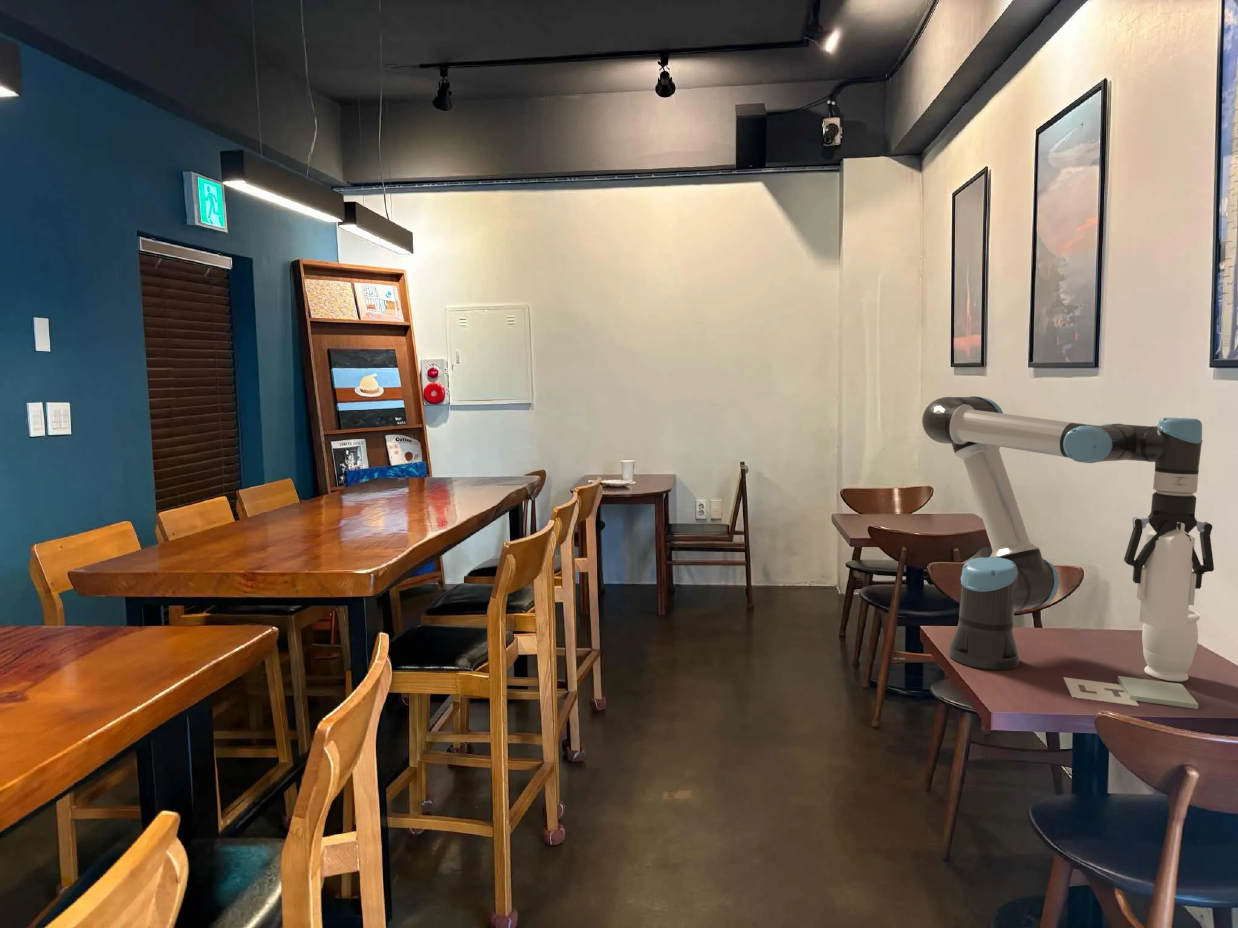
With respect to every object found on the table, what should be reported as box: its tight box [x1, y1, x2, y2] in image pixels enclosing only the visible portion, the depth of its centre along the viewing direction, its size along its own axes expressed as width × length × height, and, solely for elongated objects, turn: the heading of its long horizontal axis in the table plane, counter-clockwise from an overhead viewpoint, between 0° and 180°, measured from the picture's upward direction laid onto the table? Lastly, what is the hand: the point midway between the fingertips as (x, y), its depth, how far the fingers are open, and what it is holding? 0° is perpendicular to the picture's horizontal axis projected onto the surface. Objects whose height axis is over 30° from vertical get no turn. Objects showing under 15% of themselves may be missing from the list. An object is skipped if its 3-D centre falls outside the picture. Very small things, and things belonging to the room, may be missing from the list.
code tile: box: [1063, 677, 1140, 707], centre depth 176 cm, size 12×12×1 cm
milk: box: [1138, 522, 1196, 630], centre depth 172 cm, size 6×6×22 cm
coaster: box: [1117, 675, 1199, 710], centre depth 175 cm, size 12×12×1 cm
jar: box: [1141, 609, 1201, 683], centre depth 185 cm, size 11×10×15 cm
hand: (1164, 600), depth 173 cm, fingers closed on milk, 8 cm apart
